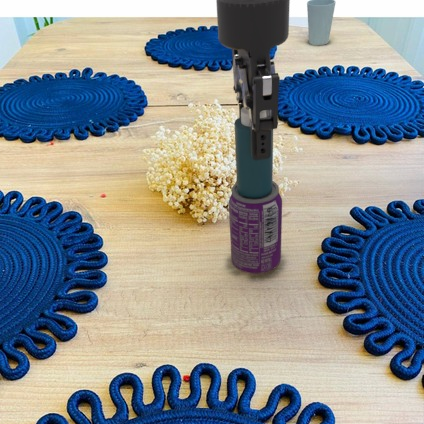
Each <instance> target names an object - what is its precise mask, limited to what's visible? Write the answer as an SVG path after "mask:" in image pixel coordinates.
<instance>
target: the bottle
mask: <svg viewBox="0 0 424 424" xmlns="http://www.w3.org/2000/svg"><path fill="white" fill-rule="evenodd" d="M264 117H267V116H266V110H263V111H261V112H260V118H264ZM233 123H234V148H235V150H234V151H235V170H236V171H235V173H236V183H237V191H238V193H239V194H240V195H242V196H245V197H249V198H259V197H263V196H266V195H268V194H269V193H270V192H271V191H272V188H273V179H274V178H273V177H274V174H273V173H274V129H271V156H270V157H269V158H268V159H262V160H254V159H253V158H252V156H251V127H250V126H249V123H250V119H249V111H248V110H247V109H245V108H244V107H243V108H242V109H241V117H240V118H239V117H238V118H236V119H235V120H234V122H233Z"/></svg>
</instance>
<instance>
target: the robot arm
mask: <svg viewBox="0 0 424 424" xmlns="http://www.w3.org/2000/svg"><path fill="white" fill-rule="evenodd" d="M215 1H216V3H215V4H216V21H217V39H218V42H219V43H220V45H222V46H224V47H225V48H227V49H231V52H232V54H231V55H232V71H233V88H232V89H233V91H234V93H235V94H236V96H235V100H236V103H237V104H238V115H239V116H238V118H240V117H241V109H242V108H243V107H244V108H245V109H247V110H248V111H249V119H250V123H249V126H250V127H251V156H252V158H253V159H254V160H262V159H268V158H269V157H270V156H271V129H273V130H278V126H279V95H280V82H281V79H280V75H279V73H278V72H276V65H275V61H274V60H271V54H270V52H271V50H272V49H273V48H275V47H276V46H277V47H279V46H280V45H282V44H284V43H285V42H286V41H287V39H288V38H289V34H290V3H291V2H290V1H291V0H215ZM263 110H266V116H267V117H264V118H260V112H261V111H263Z"/></svg>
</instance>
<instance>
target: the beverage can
mask: <svg viewBox="0 0 424 424" xmlns="http://www.w3.org/2000/svg"><path fill="white" fill-rule="evenodd" d="M228 217H229V218H228V222H229V237H230V259H231V263H232V265H233V266H234V267H235V268H236V269H237V270H240V271H242V272H244V273H249V274H263V273H268V272H270V271H272V270H274V269H275V268H277V267H278V266H279V264H280V262H281V261H282V229H283V227H282V226H283V198H282V196H281V194H280V187H279V185H278V183H277V182H275V181H273V188H272V191H271V192H270V193H269V194H268V195H266V196H263V197H259V198H249V197H245V196H242V195H240V194H239V193H238V191H237V182H235V183H234V184H233V185H232V187H231V195H230V196H229V199H228Z"/></svg>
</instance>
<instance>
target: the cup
mask: <svg viewBox="0 0 424 424" xmlns="http://www.w3.org/2000/svg"><path fill="white" fill-rule="evenodd" d="M306 8H307V11H306V12H307V29H308V31H307V32H308V43H309V45H312V46H324V45H326V44H328V43H329V42H330V36H331V30H332V24H333V18H334V13H335V8H336V0H308V1H307V2H306Z"/></svg>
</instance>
